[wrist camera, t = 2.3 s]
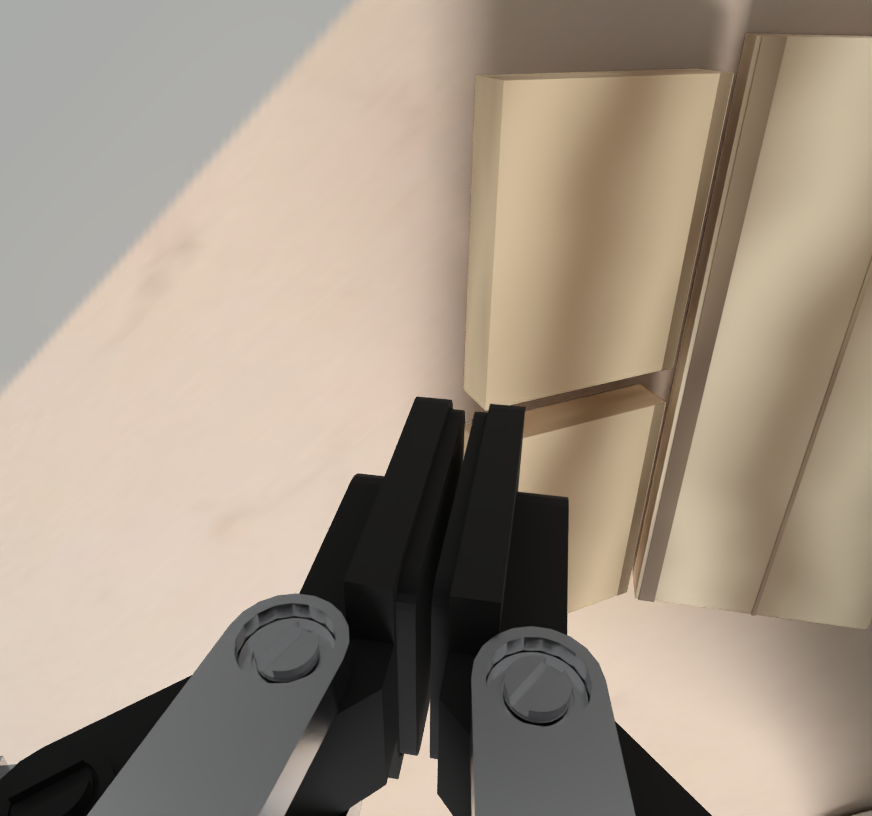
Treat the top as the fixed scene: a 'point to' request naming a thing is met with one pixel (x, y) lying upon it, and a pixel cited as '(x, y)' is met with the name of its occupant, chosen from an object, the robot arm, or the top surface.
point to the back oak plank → (594, 480)
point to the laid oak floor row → (776, 355)
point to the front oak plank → (584, 224)
